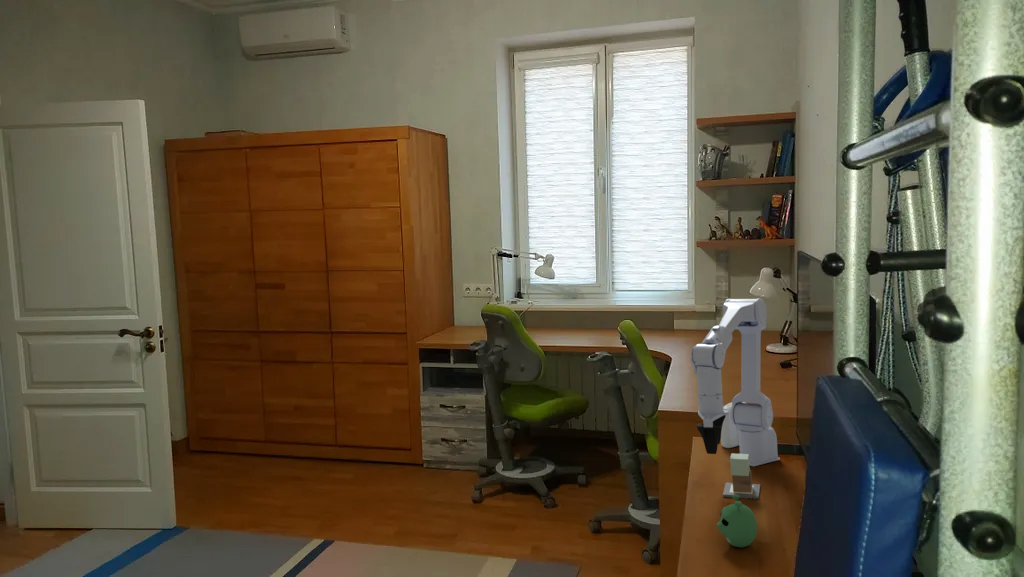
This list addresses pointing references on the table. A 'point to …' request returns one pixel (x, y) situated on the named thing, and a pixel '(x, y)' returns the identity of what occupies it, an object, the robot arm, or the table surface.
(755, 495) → the grey flat square tile
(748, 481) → the walnut block
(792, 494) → the table surface
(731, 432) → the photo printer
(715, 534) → the table surface
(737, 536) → the alien toy
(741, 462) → the sage block
